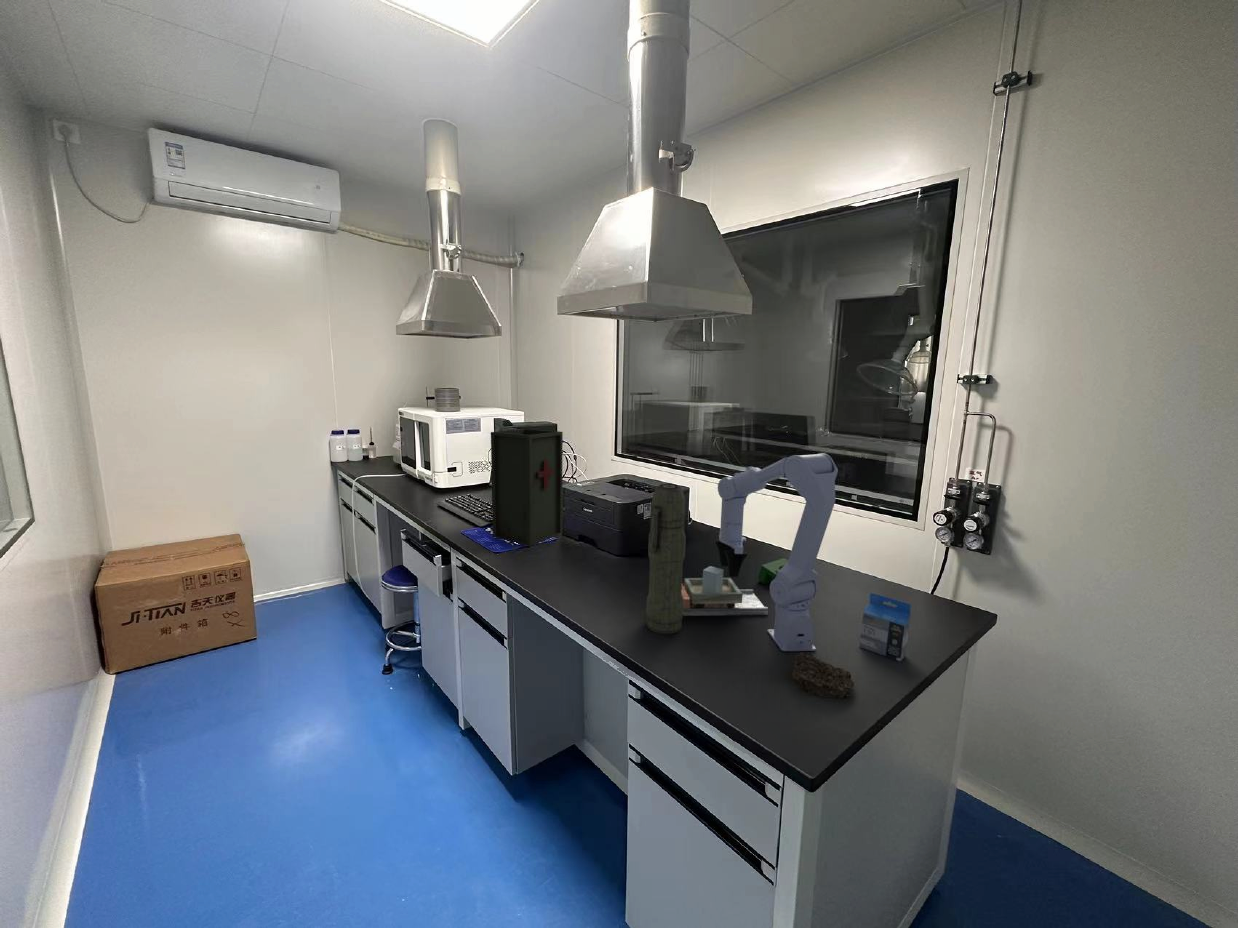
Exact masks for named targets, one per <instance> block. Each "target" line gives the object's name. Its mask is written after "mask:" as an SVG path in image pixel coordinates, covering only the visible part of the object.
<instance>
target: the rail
mask: <svg viewBox="0 0 1238 928" xmlns="http://www.w3.org/2000/svg"><path fill="white" fill-rule="evenodd" d="M739 590H740V591H741V593H742V594H743V595H742V603H735V606H734V608H728V606H727V604H726V603H717V604H705V606H704V608H698V607H697V605H696V604H692V602H691V600H690V598H689V596H688V594H687V592H686V590H685V588H684V583H682V593H681V596H682V599H683V617H685V616H686V617H687V616H689V617H691V616H693V617H695V616H698V617H699V616H755V615H756V616H758V615H759V616H765V615H769V607H768V606H764V604H763V603H762V602H761V601H760V599H759V598H758V597H757V596H756V595H755V593H754V589H751V588H750V589H739Z"/></svg>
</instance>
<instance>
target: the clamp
mask: <svg viewBox="0 0 1238 928" xmlns="http://www.w3.org/2000/svg"><path fill="white" fill-rule="evenodd" d="M788 560H789V559H786V558H784V557H782V558H780V559H776V560H774V561H771V562H768V563H765V564H762V565H761V566H760V570H759V573H758V576H757V580H758V581H759V582H761V583H762V584H763V585H765V584H768V583H771V582H772V581H773V580H774V579H775V578H776V576H777V573H778V571H779V570H780V569H781V568H782V567H784V566H785V565H786V564H787V563H788Z"/></svg>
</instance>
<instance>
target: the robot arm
mask: <svg viewBox="0 0 1238 928" xmlns="http://www.w3.org/2000/svg"><path fill="white" fill-rule="evenodd" d="M838 472H839V469H838V467H837V466H836V463H835V462H834V460H833V458H832V456H830V455H829V454H827V453H823V452H821V453H817V454H815V453H814V454H803V455H799V454H798V455H797V454H794V455H793V454H792V455H791V456H788V457H783V458H782V459H780V460H778V461H776V462H774V463H772V464H770V465H767V466H766V467H764V468H762V469H761V468H760V467H754V466H747V467H746V468H745V471H742V472H735V473H734V474H733V475H734V476H732V477H728V476H725V477H722V478H721V479H720V480H719V481H718V483H717V492H718V495H719V497H720V498H721V511H720V526H719V527H720V530H719V537H718V539H715V540H714V542H715V545H716V548H717V551H718V556H719V561H720V562H719V563H720V566H721V567H727V568H728V576H729V578H738V576H739V575H740V571H741V567H742V565H743V562H744V560H745V559H746V558H747V556H748V552H747V551H746V550H744V546H743V542H747V538H746V537H745V536H743V528H744V527H743V526H744V510H745V508H744V507H745V505H746V503H747V498H748V497H749V495H750V494H753V493H756V492H759V491H761V490H763V489H765V488H766V486H767V485H768V484H767V483H768V482H771V481H775V480H777V479H780V478H782V479H787V481H788V483H790V484H791V486H792V487H793V488H794V489H795V490H796V492H797V493H798V494H799V495H800V497H802V498H804V500H805V505H804V508H803V511H802V514H801V518H800V520H799V524H798V528H797V531H796V534H795V537H794V541H793V545H792V548H791V550H790V554H789V557H788V559H787V560H788V563H787V564H786V565H785V566H784V567H782V568H781V569H780V570H779V571H778V573H777V576H776V578H775V579H774V580H773V581H772V582H770V584H769V595H770V597H771V599H772V601H773V603H774V604H775V611H774V612H775V613H774V625H773V626H774V627H773V628H769V629H767V633H768V634H769V635H770V637H771V638H772V640H773V641H774V642H775V644H776V645H777V646H778V647H779V649H780V651H782V652H805V651H806V652H809V651H810V652H811V651H813V652H815V651H817V648H816V646H815V645H814V644H813V641H814V630H815V623H814V620H813V619H812V618H811V616H810V611H809V609H810V605H811V604H812V600H813V599H814V598H815V597H816V596H817V593H818V591H819V590H818V580H819V574H818V573H817V571H816V570H815V569H814V567H815V564H816V561H817V558H818V556H819V555H818V554H819V552H820V549H821V546H822V543H823V541H824V540H823V539H824V536H825V533H826V530H827V528H828V524H829V521H830V518H831V515H832V512H833V509H834V507H835V503H836V483H835V481H836V479H837V474H838Z"/></svg>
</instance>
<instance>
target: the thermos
mask: <svg viewBox="0 0 1238 928" xmlns="http://www.w3.org/2000/svg"><path fill="white" fill-rule="evenodd" d="M651 498H652V502H651V508H652V509H651V511H650V514H649V516H650V518H649V533H648V547H647V549H648V550H647V552H648V553H647V554H648V555H647V556H648V558H649V575H648V577H649V579H648V581H649V582H648V595H647V597H646V602H645V603H646V606H645V607H646V608H645V609H646V610H645V615H646V623H645V624H646V627H647V628H648V630H650V631H651V632H654V633H657V634H661V635H662V634H663V635H665V634H667V635H669V634H674V633H677V632H679V631H681V629H682V628H683V627H682V626H683V624H682V623H683V621H682V620H683V617H684V615H683V599H682V596H681V593H682V584H683V566H684V565H683V564H684V560H685V558H686V541H687V538H686V537H687V535H686V534H685V533H686V532H685V522H686V521H685V520H686V507H685V506H686V505H685V504H686V499H685V494H684V490H683V488H682V487H681V486H680V485H678V484H675V483H674V484H673V483H661V484H659V485H657V486H656V487H655V489H654V491H653V495H652V497H651Z"/></svg>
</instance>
